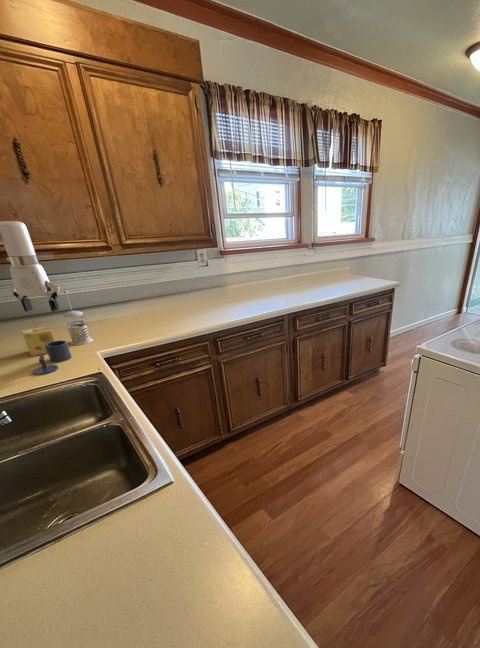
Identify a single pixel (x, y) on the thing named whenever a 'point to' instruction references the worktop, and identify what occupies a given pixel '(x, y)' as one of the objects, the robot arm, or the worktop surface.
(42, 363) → the lid
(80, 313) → the french press
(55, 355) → the pot
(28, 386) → the worktop surface
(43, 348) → the cheese
